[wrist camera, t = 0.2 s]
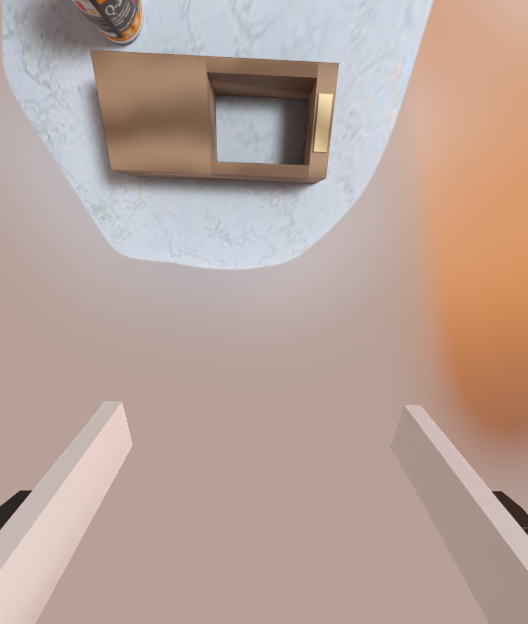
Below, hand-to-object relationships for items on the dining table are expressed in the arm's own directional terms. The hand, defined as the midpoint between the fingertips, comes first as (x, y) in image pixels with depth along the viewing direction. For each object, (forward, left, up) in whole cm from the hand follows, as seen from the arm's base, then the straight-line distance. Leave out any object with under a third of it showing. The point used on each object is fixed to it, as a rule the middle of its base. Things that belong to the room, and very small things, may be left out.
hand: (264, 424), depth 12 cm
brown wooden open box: (-18, -5, -28) cm, 34 cm away
